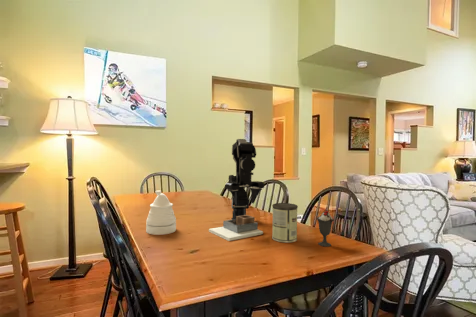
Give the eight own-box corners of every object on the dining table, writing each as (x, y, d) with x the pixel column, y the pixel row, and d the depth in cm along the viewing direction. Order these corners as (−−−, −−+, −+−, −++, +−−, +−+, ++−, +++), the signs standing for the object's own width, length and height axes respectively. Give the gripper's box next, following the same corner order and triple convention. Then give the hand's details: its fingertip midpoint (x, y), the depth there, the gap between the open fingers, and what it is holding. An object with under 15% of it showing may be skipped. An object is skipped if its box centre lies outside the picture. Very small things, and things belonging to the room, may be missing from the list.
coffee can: (276, 234, 122) (276, 202, 122) (299, 237, 118) (300, 204, 117) (268, 240, 113) (269, 205, 112) (293, 244, 108) (294, 208, 108)
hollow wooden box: (246, 225, 131) (246, 214, 131) (254, 228, 126) (254, 217, 126) (236, 227, 128) (236, 216, 128) (243, 230, 123) (244, 218, 123)
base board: (241, 226, 134) (241, 217, 134) (262, 234, 122) (263, 224, 121) (208, 231, 124) (208, 222, 124) (228, 241, 111) (229, 230, 111)
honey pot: (160, 236, 116) (160, 193, 115) (139, 231, 122) (140, 190, 122) (181, 229, 126) (182, 190, 126) (162, 225, 133) (162, 188, 133)
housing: (242, 224, 133) (243, 217, 133) (257, 229, 124) (257, 222, 124) (223, 227, 127) (223, 220, 126) (237, 233, 118) (237, 226, 118)
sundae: (324, 248, 104) (325, 208, 104) (312, 243, 110) (313, 205, 110) (337, 246, 107) (338, 207, 107) (324, 241, 113) (325, 204, 113)
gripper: (250, 168, 139) (249, 200, 139) (218, 169, 128) (218, 203, 128) (265, 170, 130) (264, 203, 130) (232, 171, 119) (231, 207, 119)
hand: (244, 204), depth 127 cm, fingers open, 9 cm apart
